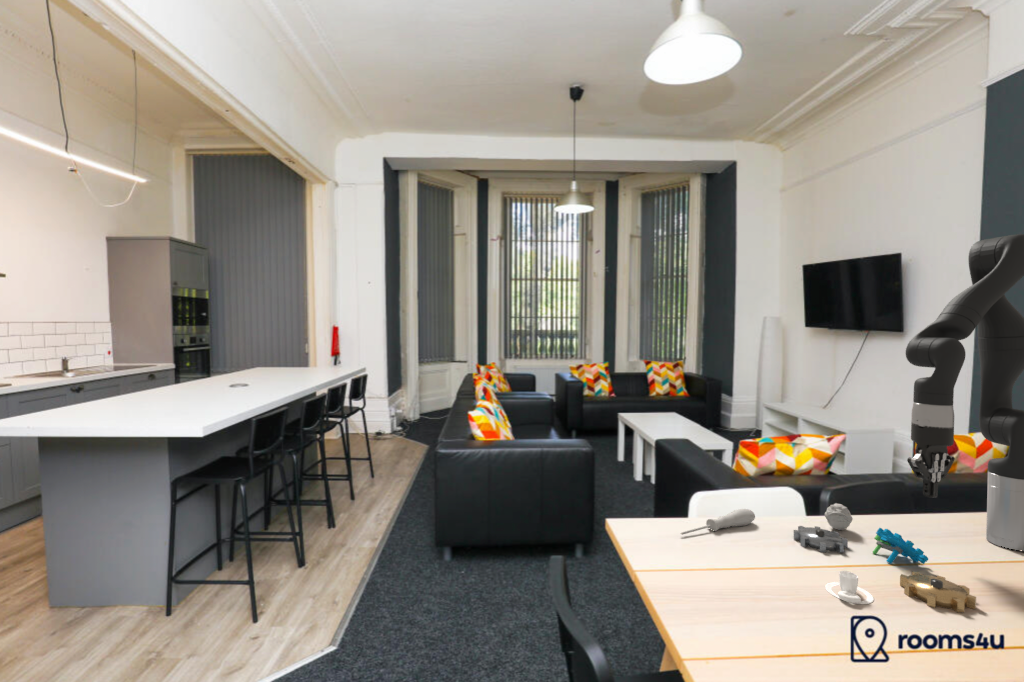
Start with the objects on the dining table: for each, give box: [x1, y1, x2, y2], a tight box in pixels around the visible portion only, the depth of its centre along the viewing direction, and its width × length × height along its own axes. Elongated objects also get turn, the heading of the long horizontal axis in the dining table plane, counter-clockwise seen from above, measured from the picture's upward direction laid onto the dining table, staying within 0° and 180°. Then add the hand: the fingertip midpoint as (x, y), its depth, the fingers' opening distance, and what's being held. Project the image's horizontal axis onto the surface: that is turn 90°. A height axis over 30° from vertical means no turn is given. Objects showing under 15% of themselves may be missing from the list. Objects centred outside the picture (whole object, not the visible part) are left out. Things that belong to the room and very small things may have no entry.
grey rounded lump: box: [824, 502, 854, 531], centre depth 127 cm, size 6×7×7 cm
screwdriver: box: [680, 508, 756, 535], centre depth 127 cm, size 5×25×4 cm, turn 112°
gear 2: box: [872, 527, 929, 565], centre depth 109 cm, size 11×6×10 cm
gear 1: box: [792, 525, 849, 554], centre depth 119 cm, size 11×11×3 cm
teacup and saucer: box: [824, 570, 875, 605], centre depth 96 cm, size 9×8×4 cm
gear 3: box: [899, 571, 977, 614], centre depth 95 cm, size 11×11×3 cm
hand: (929, 496), depth 112 cm, fingers closed
